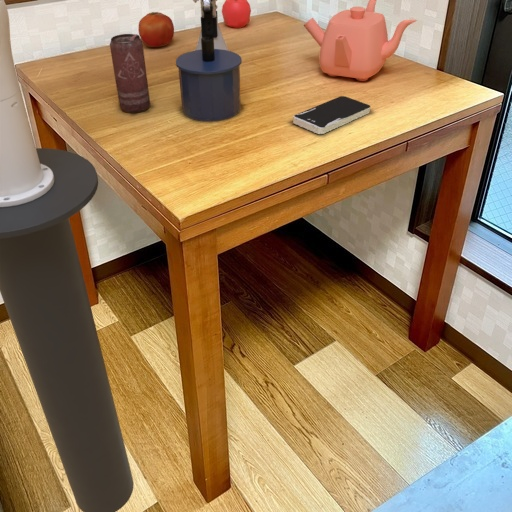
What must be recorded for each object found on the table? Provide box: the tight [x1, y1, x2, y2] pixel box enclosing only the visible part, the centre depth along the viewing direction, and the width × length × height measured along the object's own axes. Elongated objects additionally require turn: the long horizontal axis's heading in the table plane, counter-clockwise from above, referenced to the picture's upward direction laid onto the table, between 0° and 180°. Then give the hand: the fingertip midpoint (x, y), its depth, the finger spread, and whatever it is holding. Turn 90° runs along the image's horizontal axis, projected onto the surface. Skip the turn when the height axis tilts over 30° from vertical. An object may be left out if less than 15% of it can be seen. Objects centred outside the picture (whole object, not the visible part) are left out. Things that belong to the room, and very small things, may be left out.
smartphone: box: [292, 95, 371, 135], centre depth 116 cm, size 8×1×15 cm
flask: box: [195, 4, 230, 51], centre depth 123 cm, size 7×7×10 cm
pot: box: [177, 65, 242, 122], centre depth 117 cm, size 12×12×10 cm
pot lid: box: [175, 37, 243, 74], centre depth 113 cm, size 13×13×5 cm
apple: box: [221, 0, 252, 29], centre depth 162 cm, size 8×8×8 cm
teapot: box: [303, 0, 418, 82], centre depth 131 cm, size 18×18×14 cm
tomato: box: [138, 11, 175, 48], centre depth 150 cm, size 9×9×8 cm
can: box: [109, 33, 151, 114], centre depth 117 cm, size 6×6×14 cm
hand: (210, 33), depth 123 cm, fingers closed on flask, 3 cm apart
